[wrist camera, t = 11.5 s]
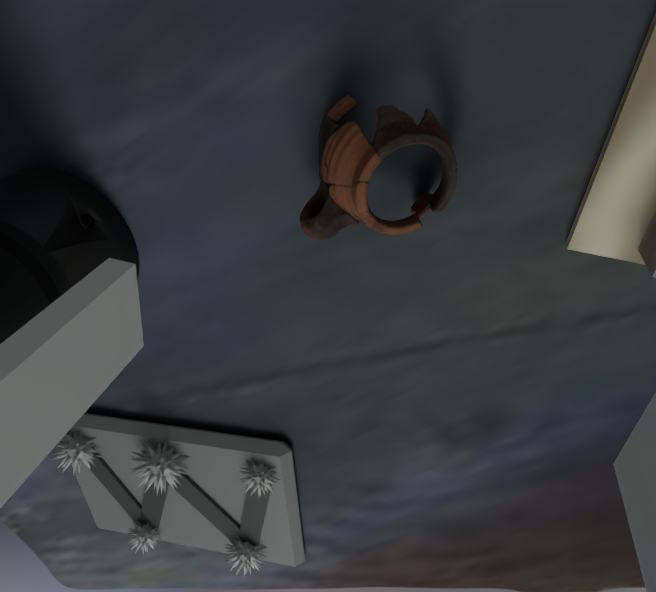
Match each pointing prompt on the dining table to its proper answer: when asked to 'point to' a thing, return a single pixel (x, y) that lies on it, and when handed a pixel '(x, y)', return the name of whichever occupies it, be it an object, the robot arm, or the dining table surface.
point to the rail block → (625, 175)
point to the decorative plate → (188, 487)
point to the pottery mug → (371, 171)
